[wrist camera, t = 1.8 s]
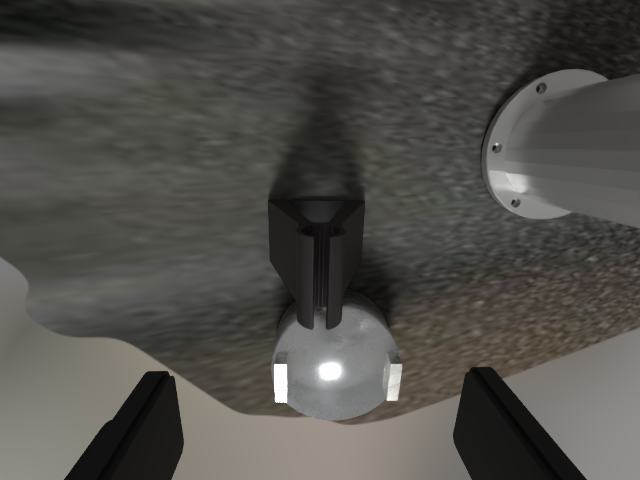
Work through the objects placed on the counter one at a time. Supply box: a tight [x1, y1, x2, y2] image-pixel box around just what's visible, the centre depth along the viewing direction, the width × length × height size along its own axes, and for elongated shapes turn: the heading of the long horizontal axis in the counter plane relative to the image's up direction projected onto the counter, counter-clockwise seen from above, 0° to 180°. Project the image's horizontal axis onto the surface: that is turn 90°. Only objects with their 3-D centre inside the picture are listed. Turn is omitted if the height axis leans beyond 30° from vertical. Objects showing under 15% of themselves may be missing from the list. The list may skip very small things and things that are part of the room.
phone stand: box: [268, 199, 365, 330], centre depth 23 cm, size 9×6×12 cm, turn 89°
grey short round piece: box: [271, 289, 402, 420], centre depth 29 cm, size 12×12×7 cm
